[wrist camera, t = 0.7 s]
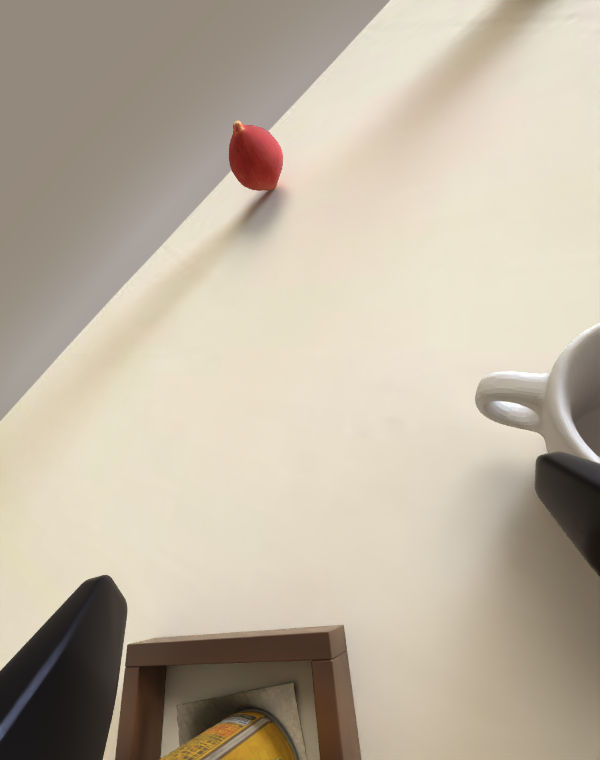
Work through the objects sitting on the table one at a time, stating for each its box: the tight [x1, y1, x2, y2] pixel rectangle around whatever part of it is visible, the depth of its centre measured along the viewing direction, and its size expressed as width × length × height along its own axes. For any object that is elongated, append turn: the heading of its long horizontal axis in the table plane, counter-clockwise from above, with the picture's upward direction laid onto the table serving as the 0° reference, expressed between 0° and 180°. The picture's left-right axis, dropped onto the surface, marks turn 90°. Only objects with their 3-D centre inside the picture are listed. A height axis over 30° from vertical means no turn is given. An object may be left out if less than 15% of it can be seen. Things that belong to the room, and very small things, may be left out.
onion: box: [229, 121, 283, 191], centre depth 40 cm, size 6×6×8 cm
